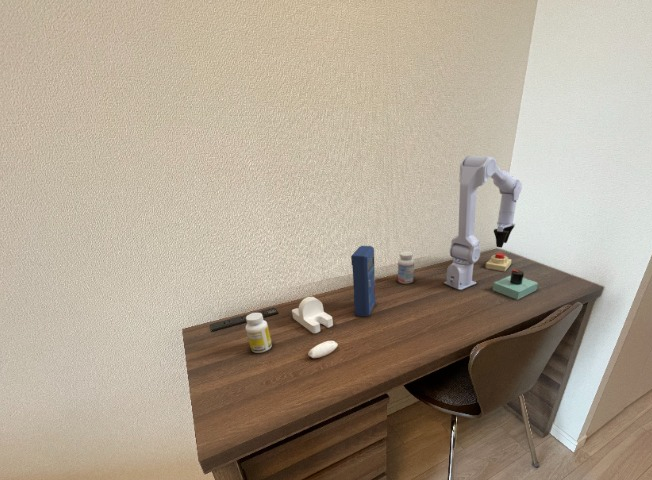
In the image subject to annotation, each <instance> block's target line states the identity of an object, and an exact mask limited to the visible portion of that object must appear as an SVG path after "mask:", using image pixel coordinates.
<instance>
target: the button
mask: <svg viewBox="0 0 652 480" xmlns="http://www.w3.org/2000/svg"><path fill="white" fill-rule="evenodd" d="M494 255H495V258H497V259H504V256H506V254H505V253H503V252H496V253H495V254H494Z"/></svg>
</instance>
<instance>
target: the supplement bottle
mask: <svg viewBox="0 0 652 480" xmlns="http://www.w3.org/2000/svg"><path fill="white" fill-rule="evenodd" d="M245 320H246V325H245V332H246V336H247V339H248V343H249V347H250V350H251V352H253V353H256V354H262V353H266V352H267V351H269V350H271V348H272V346H273V342H272V338H271V333H270V330H269V325H268V322H267V321H266V320H264V316H263V314H262V313H261V312H252V313H249V314H247V315H246V316H245Z"/></svg>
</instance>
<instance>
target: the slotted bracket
mask: <svg viewBox="0 0 652 480" xmlns="http://www.w3.org/2000/svg"><path fill="white" fill-rule="evenodd" d="M291 315H292V319H293V320H295V321H296V322H297V323H299V324H300V325H301V326H303V328H305V329H307V330H308V331H309V332H310V333H312V334H318V333H319V332H321V325H323V326H324V327H326V328H327V329H329V328H331V327H333V326H334V321H333V316H331V315H330V314H328V313H327V312H325V311H324V305H323V302H322V301H320V300H319V299H318V298H317V297H315V296H307V297H304V299H302V300H301V301H300V303H299V304H298V307H297V308H293V309H291Z"/></svg>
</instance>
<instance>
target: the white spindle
mask: <svg viewBox="0 0 652 480" xmlns="http://www.w3.org/2000/svg"><path fill="white" fill-rule="evenodd" d="M338 345H339V344H338V343H337V342H336V341H335V340H327V341H323V342H321V343H319V344H317V345H315V346H314V347H312V348H311V349H310V350H309V351H308V352H307V353H308V356H309V357H310V358H312V359H319V358H322V357H325V356H327V355H330V354H331V353H332V352H334V351H335V350H336V349H337V347H338Z"/></svg>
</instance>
